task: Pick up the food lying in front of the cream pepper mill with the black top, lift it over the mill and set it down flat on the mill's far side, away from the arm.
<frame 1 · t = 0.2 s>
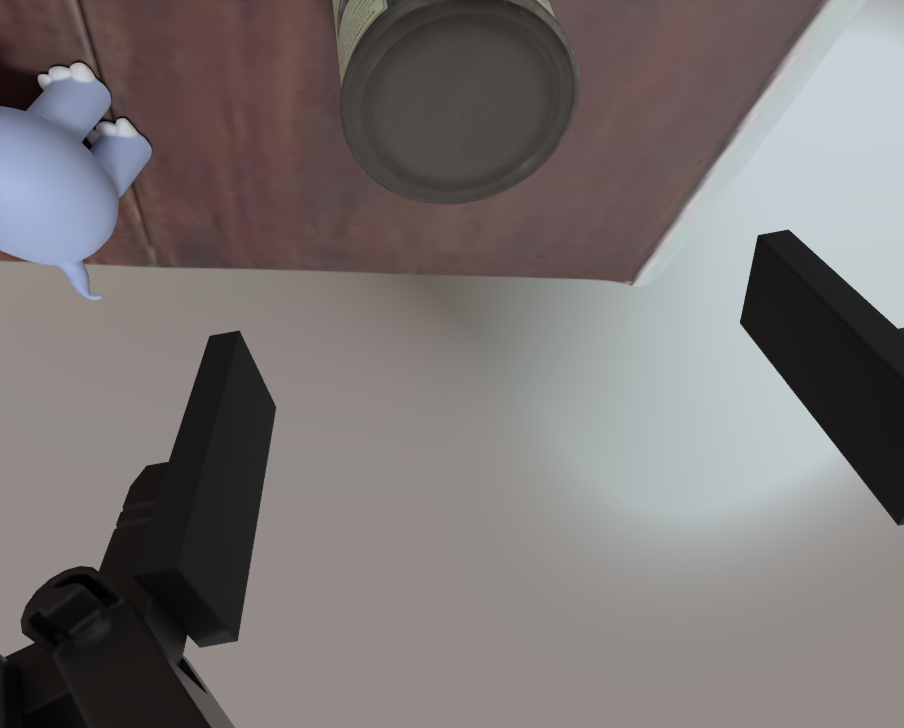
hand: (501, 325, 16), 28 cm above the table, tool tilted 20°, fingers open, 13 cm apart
hippopotamus toy: (30, 110, 38), on the table
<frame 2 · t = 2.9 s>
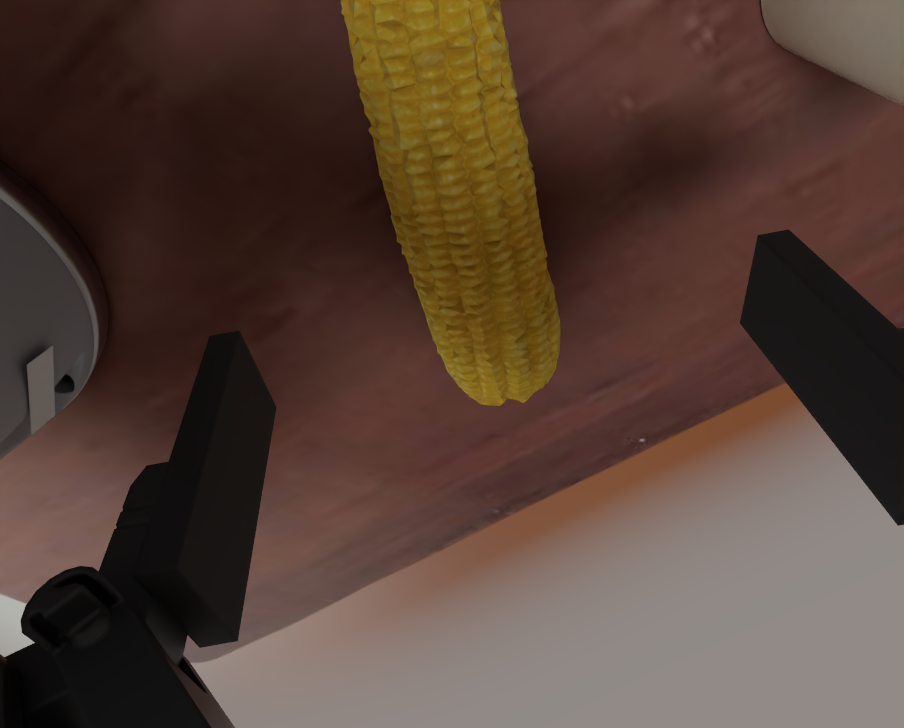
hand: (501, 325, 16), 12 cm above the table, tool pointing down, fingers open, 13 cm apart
food: (447, 149, 25), on the table
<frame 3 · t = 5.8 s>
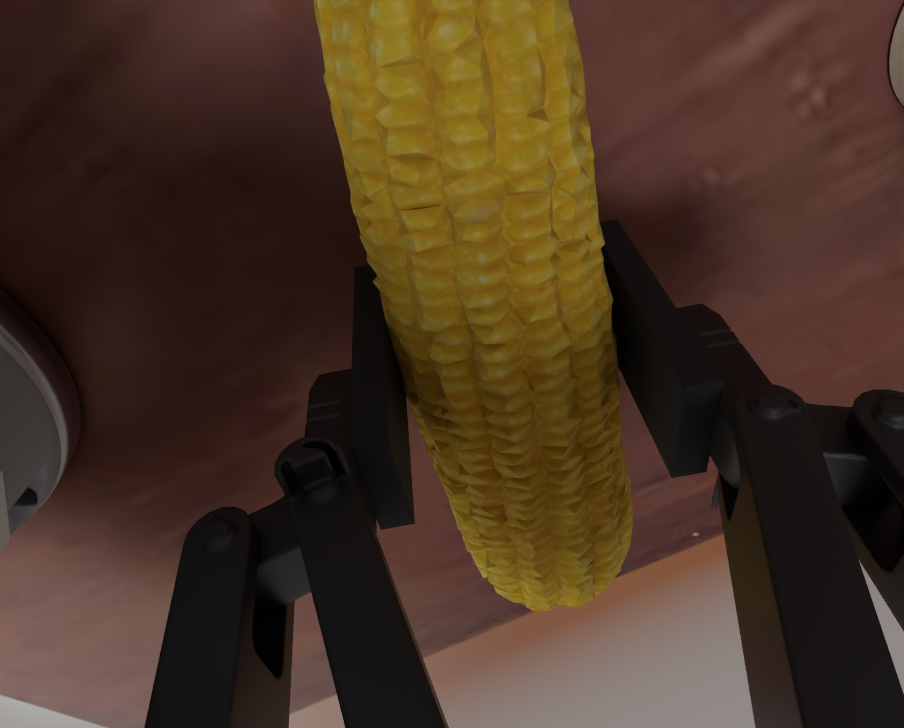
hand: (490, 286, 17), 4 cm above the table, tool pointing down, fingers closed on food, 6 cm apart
food: (484, 277, 18), point 3 cm above the table, touching gripper
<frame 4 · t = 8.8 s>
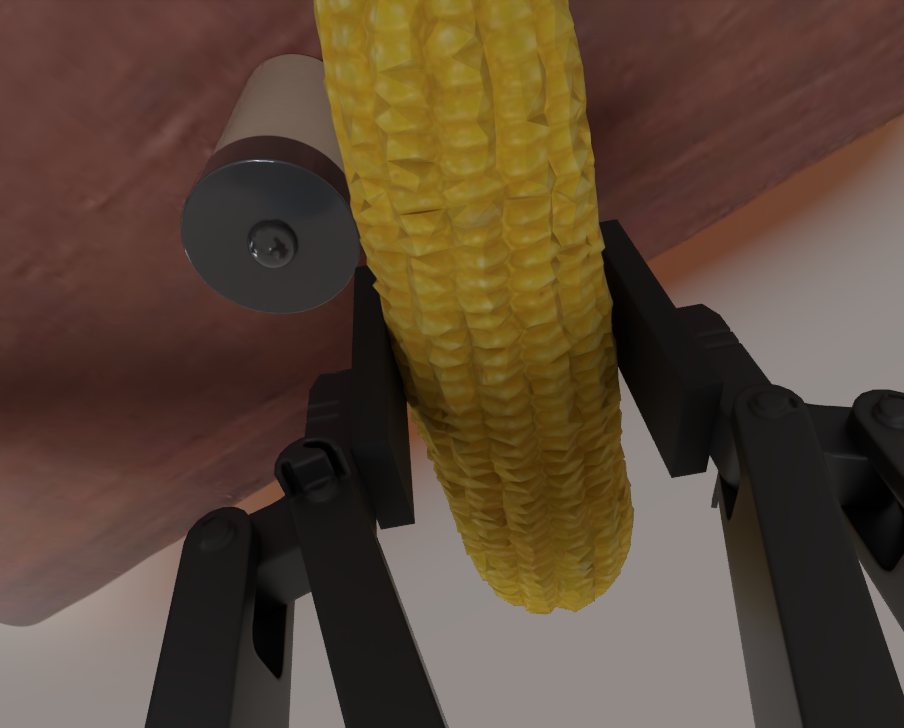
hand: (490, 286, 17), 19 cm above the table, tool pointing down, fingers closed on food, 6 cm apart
food: (483, 280, 18), point 19 cm above the table, touching gripper
pepper mill: (300, 115, 32), on the table
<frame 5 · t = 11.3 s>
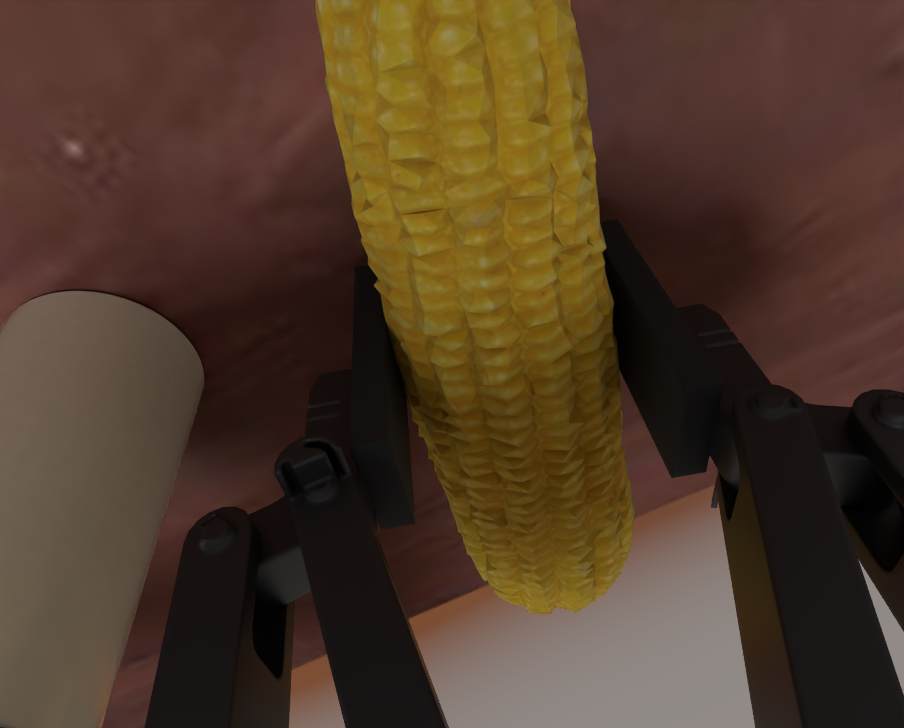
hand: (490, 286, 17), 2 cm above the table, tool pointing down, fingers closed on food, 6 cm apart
food: (484, 280, 18), point 1 cm above the table, touching gripper
pepper mill: (107, 367, 20), on the table
when the fingers open (0 cm above the table, at t = 12.1 s): food stays where it is, on the table.
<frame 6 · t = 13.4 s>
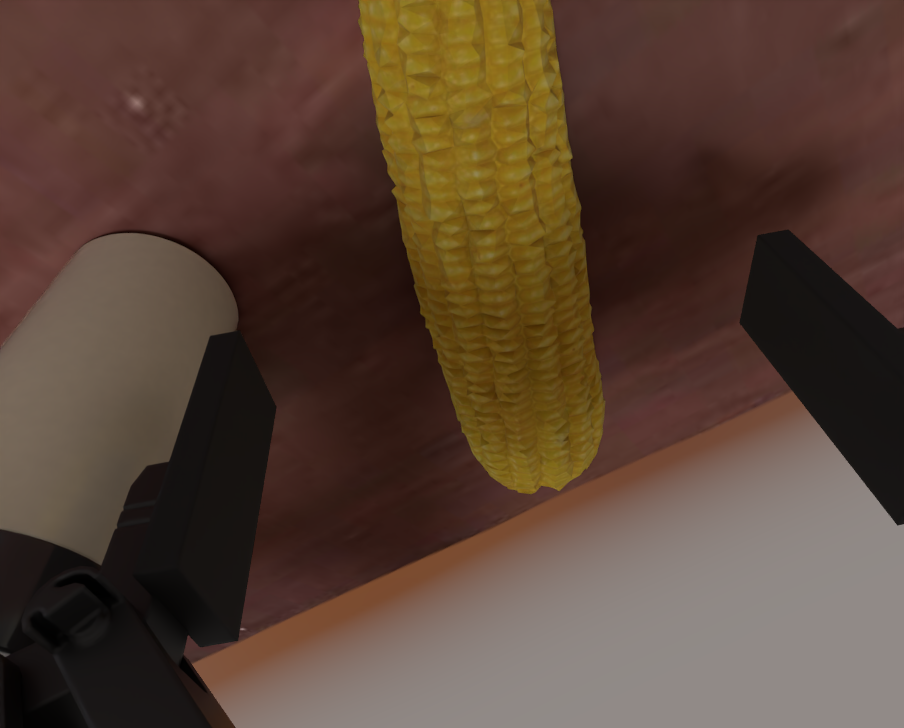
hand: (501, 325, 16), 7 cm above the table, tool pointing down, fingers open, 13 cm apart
food: (481, 204, 21), on the table
pepper mill: (154, 304, 22), on the table, touching gripper
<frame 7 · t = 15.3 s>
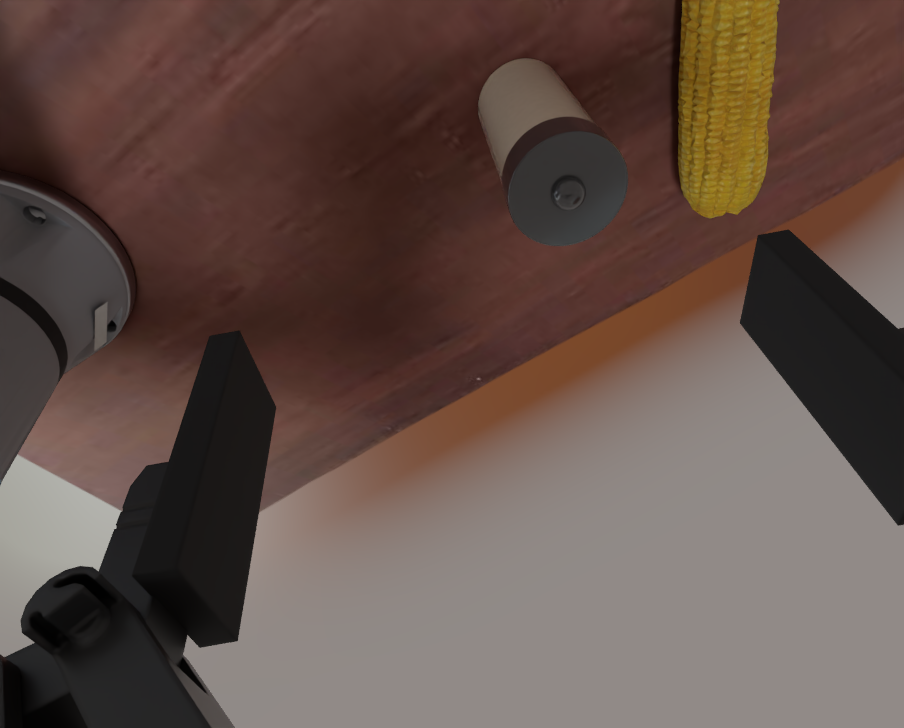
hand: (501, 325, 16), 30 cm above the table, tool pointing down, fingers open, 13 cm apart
food: (705, 46, 40), on the table
pepper mill: (521, 105, 41), on the table
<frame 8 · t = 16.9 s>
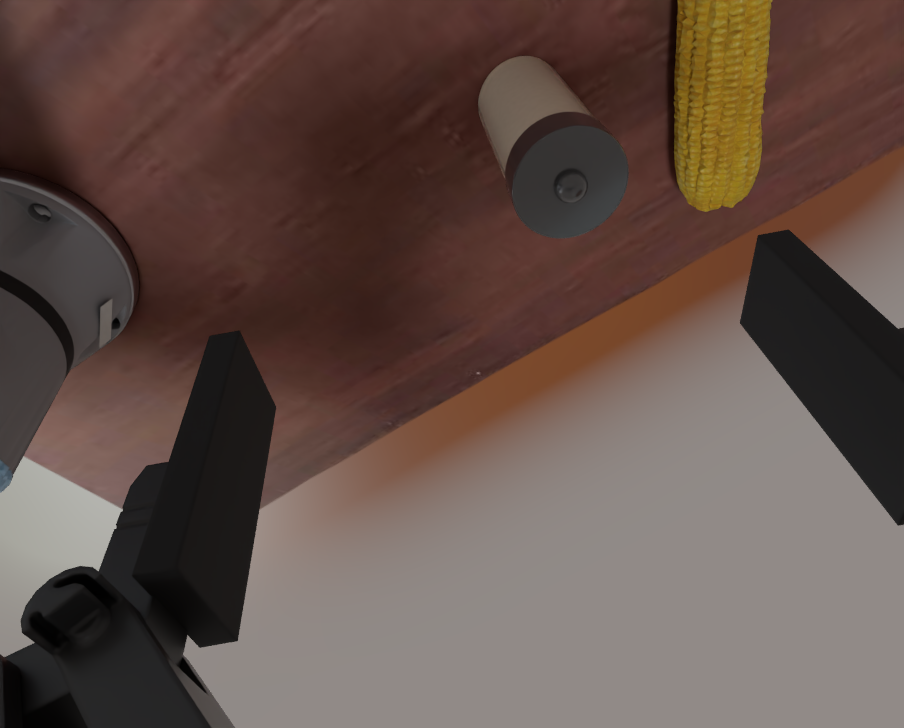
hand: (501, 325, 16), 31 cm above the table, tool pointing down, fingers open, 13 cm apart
food: (700, 44, 41), on the table
pepper mill: (520, 102, 42), on the table
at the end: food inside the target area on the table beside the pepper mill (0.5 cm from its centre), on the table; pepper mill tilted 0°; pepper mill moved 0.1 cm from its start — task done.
